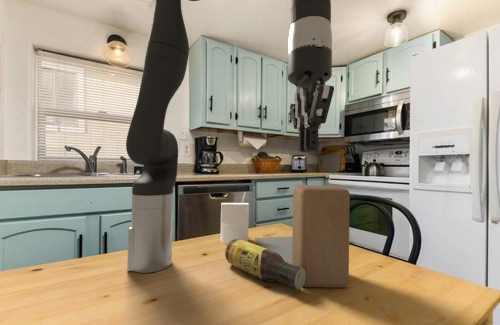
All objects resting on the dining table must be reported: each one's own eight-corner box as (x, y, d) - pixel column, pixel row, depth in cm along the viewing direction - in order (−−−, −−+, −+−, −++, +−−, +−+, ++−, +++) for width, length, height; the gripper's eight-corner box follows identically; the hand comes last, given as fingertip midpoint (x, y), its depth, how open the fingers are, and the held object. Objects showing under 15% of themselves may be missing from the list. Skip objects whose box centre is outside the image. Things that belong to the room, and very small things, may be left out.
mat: (274, 268, 58) (274, 267, 58) (254, 238, 81) (254, 237, 81) (336, 265, 61) (336, 263, 61) (300, 237, 84) (300, 236, 84)
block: (350, 289, 49) (351, 189, 49) (300, 289, 48) (302, 188, 49) (332, 268, 58) (333, 185, 59) (291, 268, 58) (292, 184, 59)
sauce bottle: (222, 242, 58) (289, 266, 44) (241, 234, 63) (308, 253, 48) (224, 269, 59) (292, 301, 44) (243, 259, 63) (310, 285, 49)
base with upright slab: (247, 236, 84) (248, 201, 84) (248, 245, 75) (249, 206, 75) (221, 236, 83) (222, 201, 84) (219, 245, 74) (220, 205, 75)
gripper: (277, 67, 49) (276, 153, 49) (305, 29, 35) (303, 148, 35) (312, 70, 50) (311, 154, 50) (352, 35, 37) (350, 149, 36)
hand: (308, 151), depth 43 cm, fingers closed
